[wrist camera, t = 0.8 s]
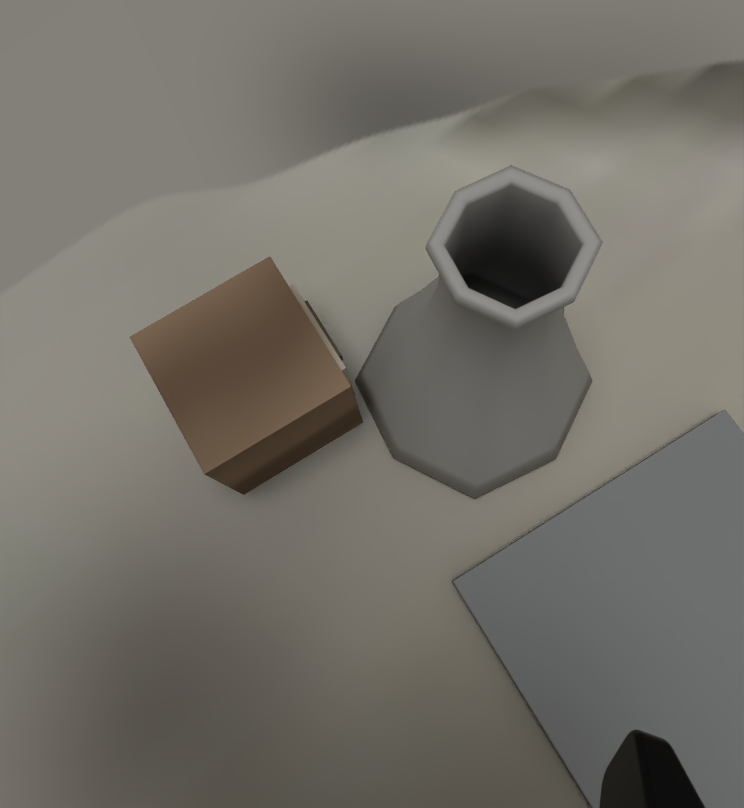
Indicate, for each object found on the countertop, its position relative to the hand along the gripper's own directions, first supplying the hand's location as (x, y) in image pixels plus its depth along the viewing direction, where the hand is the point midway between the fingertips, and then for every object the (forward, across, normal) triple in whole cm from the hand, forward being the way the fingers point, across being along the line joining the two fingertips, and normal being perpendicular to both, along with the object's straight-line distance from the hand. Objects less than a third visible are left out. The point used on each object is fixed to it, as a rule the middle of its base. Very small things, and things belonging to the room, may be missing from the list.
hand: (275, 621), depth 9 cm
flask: (+15, -1, +4) cm, 16 cm away
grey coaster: (+11, -10, +8) cm, 17 cm away
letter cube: (+13, +5, +5) cm, 15 cm away
